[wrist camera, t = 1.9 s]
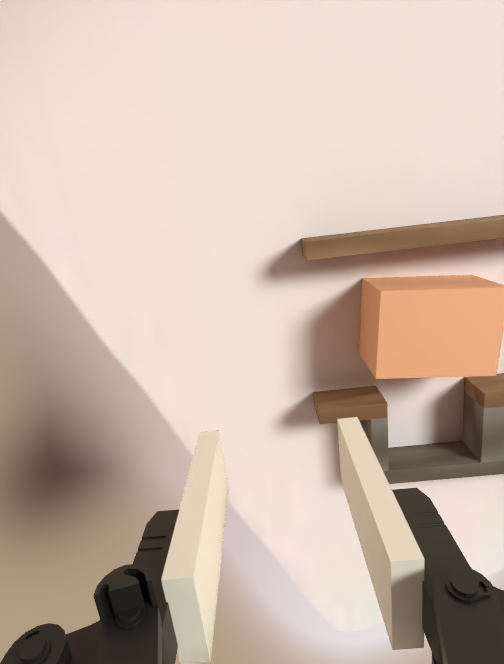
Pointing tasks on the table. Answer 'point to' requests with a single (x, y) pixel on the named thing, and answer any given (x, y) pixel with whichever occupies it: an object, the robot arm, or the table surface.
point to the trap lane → (479, 391)
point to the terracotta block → (431, 326)
